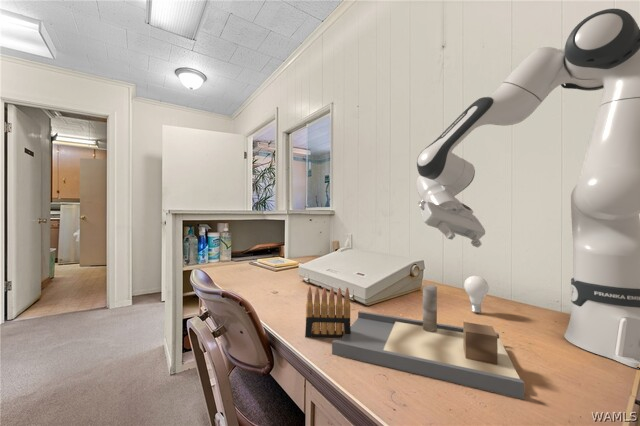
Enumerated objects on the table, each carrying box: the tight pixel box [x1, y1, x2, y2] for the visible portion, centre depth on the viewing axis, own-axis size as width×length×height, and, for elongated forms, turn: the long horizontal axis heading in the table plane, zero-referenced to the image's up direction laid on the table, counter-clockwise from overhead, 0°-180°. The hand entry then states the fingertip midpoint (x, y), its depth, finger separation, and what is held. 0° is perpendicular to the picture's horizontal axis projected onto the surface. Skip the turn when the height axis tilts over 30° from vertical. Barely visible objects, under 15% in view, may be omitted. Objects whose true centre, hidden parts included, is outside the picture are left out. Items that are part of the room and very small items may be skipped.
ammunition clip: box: [304, 286, 351, 339], centre depth 62 cm, size 11×2×12 cm, turn 88°
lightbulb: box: [463, 275, 490, 314], centre depth 79 cm, size 6×6×11 cm
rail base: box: [331, 310, 525, 400], centre depth 57 cm, size 32×20×2 cm, turn 66°
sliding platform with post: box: [383, 284, 521, 379], centre depth 55 cm, size 22×16×11 cm
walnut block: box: [462, 321, 498, 365], centre depth 51 cm, size 5×5×5 cm
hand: (465, 241), depth 72 cm, fingers open, 8 cm apart
